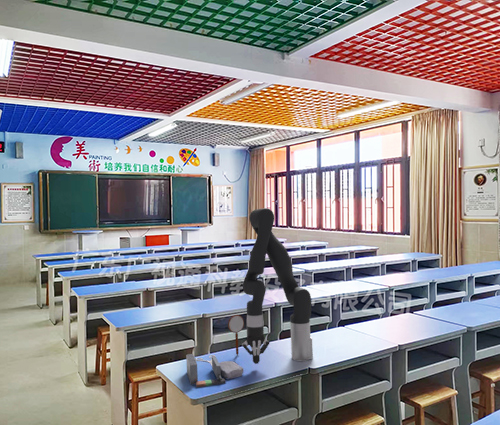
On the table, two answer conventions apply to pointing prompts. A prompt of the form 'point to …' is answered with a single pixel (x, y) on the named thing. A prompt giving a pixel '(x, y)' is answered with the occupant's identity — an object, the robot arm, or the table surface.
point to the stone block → (230, 369)
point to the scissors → (204, 360)
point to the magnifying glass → (236, 327)
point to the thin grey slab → (216, 367)
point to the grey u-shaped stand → (194, 375)
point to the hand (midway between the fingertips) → (256, 363)
